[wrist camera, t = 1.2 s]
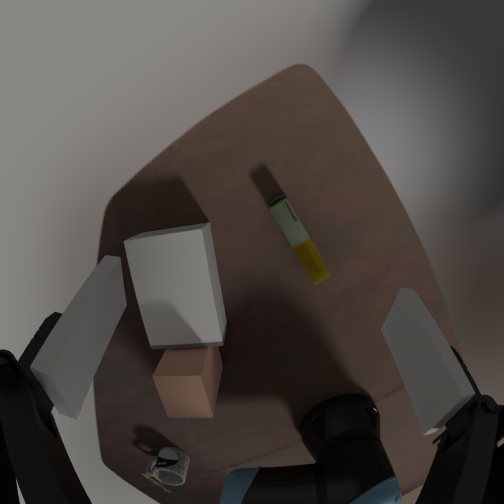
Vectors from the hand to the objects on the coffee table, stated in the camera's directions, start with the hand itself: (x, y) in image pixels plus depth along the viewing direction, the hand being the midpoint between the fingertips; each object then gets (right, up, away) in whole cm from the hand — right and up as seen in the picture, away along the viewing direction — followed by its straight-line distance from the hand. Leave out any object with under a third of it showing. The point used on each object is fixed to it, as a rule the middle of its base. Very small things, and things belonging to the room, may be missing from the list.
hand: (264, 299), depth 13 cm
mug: (-19, -42, +37) cm, 59 cm away
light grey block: (-10, -2, +28) cm, 30 cm away
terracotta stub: (-9, -13, +30) cm, 34 cm away
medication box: (+6, +4, +27) cm, 27 cm away
